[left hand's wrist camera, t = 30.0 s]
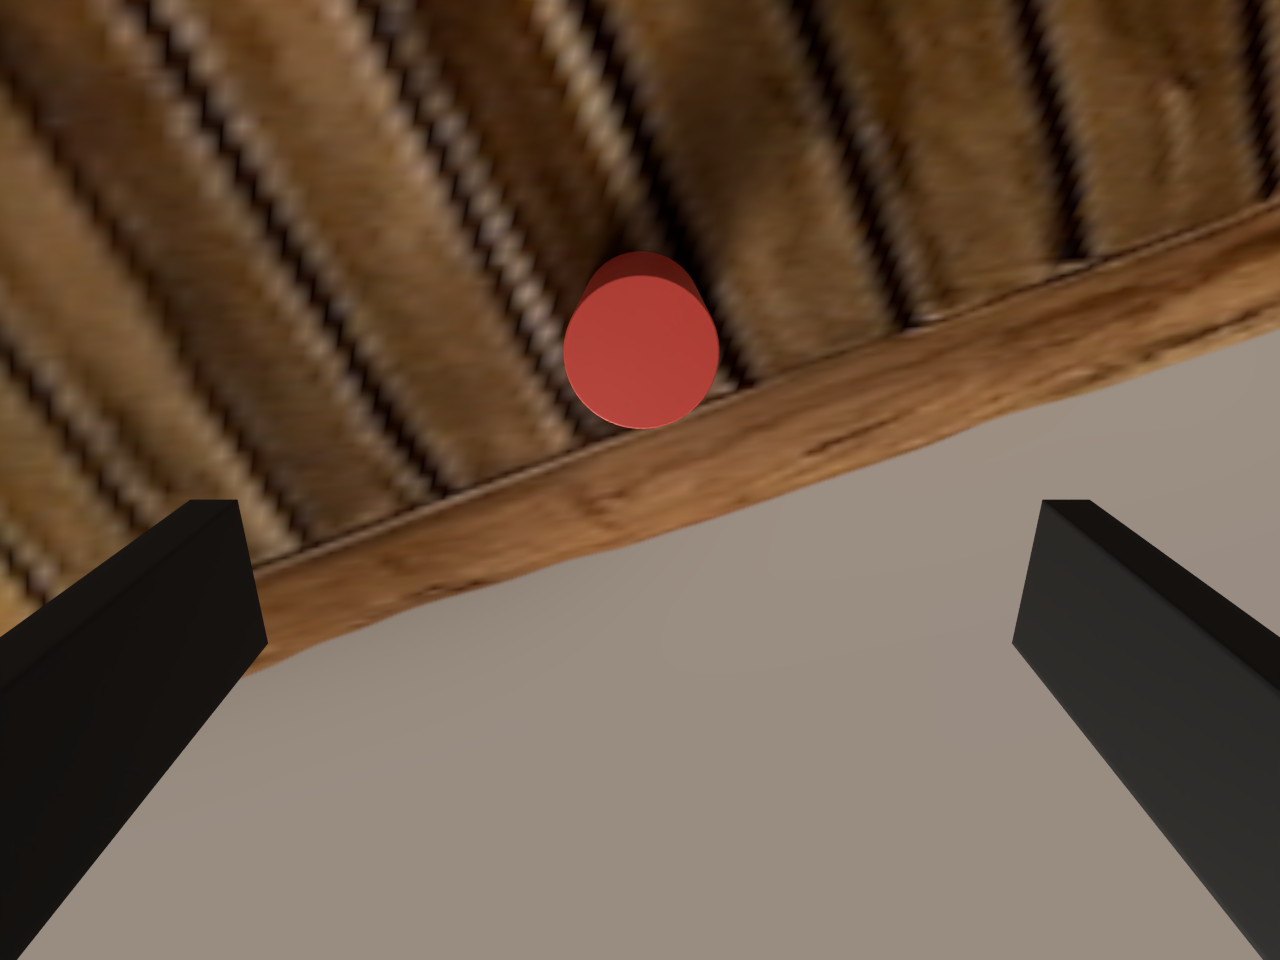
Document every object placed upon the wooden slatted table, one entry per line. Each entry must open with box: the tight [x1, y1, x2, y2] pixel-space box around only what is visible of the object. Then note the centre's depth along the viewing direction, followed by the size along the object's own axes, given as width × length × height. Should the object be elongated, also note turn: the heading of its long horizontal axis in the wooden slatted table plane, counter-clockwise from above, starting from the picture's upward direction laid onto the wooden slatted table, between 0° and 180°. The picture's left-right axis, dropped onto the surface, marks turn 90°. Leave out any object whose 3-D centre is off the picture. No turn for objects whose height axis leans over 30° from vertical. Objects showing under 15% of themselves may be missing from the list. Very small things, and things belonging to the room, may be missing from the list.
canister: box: [564, 251, 719, 429], centre depth 33 cm, size 6×6×9 cm
